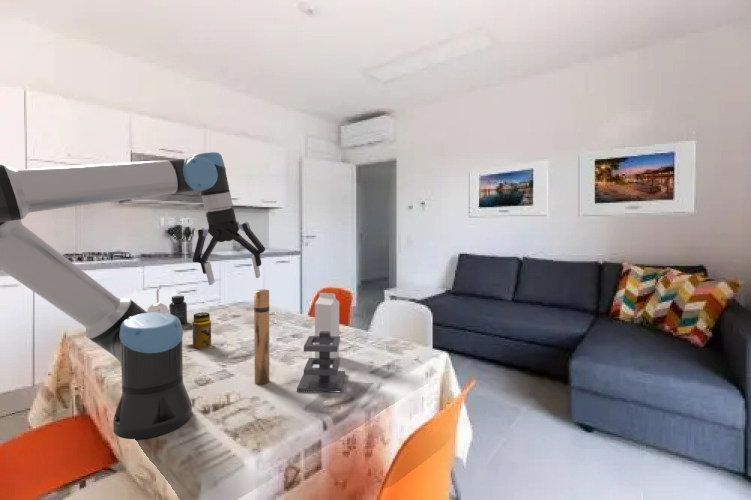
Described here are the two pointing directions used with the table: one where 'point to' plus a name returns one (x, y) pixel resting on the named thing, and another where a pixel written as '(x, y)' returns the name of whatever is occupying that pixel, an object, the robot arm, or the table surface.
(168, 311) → the cup with straw
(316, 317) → the milk
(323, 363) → the collar stand
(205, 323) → the condiment
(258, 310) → the brown wooden cylinder
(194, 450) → the table surface
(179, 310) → the supplement bottle
